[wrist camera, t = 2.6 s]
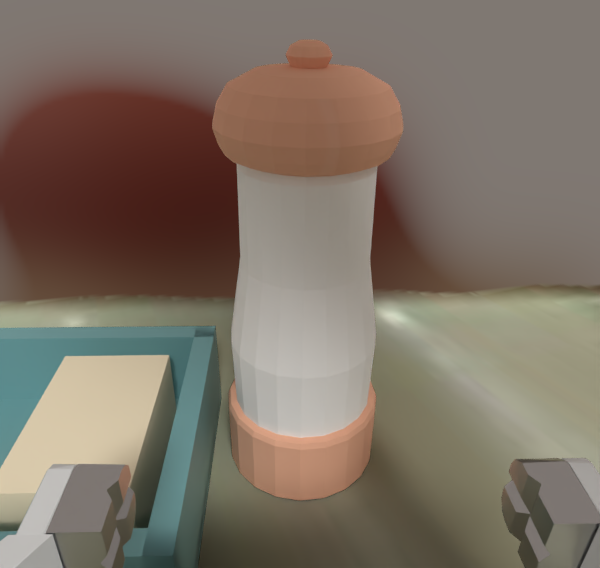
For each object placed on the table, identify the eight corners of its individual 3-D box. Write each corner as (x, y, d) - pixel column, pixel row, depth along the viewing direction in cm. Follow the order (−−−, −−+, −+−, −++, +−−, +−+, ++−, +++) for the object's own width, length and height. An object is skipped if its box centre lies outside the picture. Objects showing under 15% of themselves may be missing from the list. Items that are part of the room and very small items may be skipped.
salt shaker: (207, 428, 28) (168, 36, 19) (316, 379, 32) (329, 30, 23) (279, 528, 23) (276, 56, 14) (400, 457, 27) (462, 45, 17)
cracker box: (177, 416, 28) (169, 354, 26) (143, 560, 21) (128, 491, 19) (81, 417, 27) (65, 356, 26) (14, 563, 21) (-15, 493, 19)
